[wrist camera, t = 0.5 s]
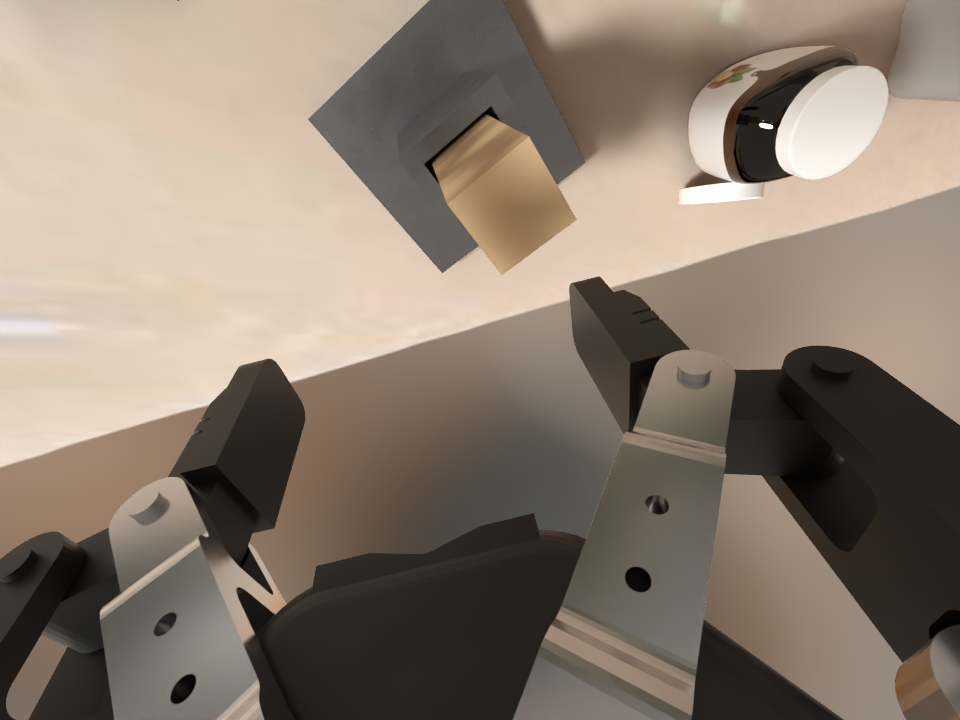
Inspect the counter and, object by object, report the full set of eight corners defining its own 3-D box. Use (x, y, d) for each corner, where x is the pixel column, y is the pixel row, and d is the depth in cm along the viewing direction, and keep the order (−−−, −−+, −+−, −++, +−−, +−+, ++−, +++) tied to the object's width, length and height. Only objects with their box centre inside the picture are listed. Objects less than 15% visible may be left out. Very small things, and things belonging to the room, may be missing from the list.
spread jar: (781, 32, 35) (924, 19, 25) (784, 162, 41) (898, 190, 32) (647, 108, 36) (734, 122, 27) (670, 222, 43) (746, 265, 34)
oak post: (461, 101, 32) (529, 135, 16) (491, 147, 34) (577, 219, 18) (421, 137, 33) (446, 203, 17) (453, 180, 35) (501, 275, 19)
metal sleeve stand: (473, -42, 29) (523, -111, 18) (577, 158, 38) (654, 196, 26) (312, 116, 33) (268, 142, 21) (440, 265, 41) (457, 338, 30)
